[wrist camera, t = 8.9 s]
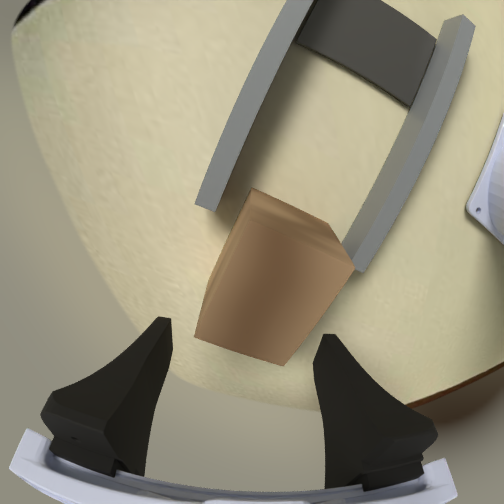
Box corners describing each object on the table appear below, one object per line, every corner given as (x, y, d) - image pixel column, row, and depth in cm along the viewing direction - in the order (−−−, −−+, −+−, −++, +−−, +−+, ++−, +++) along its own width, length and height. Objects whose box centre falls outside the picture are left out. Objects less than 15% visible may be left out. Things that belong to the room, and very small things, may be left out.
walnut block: (327, 222, 15) (355, 267, 11) (277, 306, 18) (283, 366, 13) (251, 186, 15) (249, 219, 10) (208, 279, 17) (193, 337, 12)
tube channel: (456, 31, 9) (475, 26, 8) (352, 255, 16) (363, 273, 14) (321, -52, 8) (329, -69, 6) (202, 193, 15) (194, 204, 13)
